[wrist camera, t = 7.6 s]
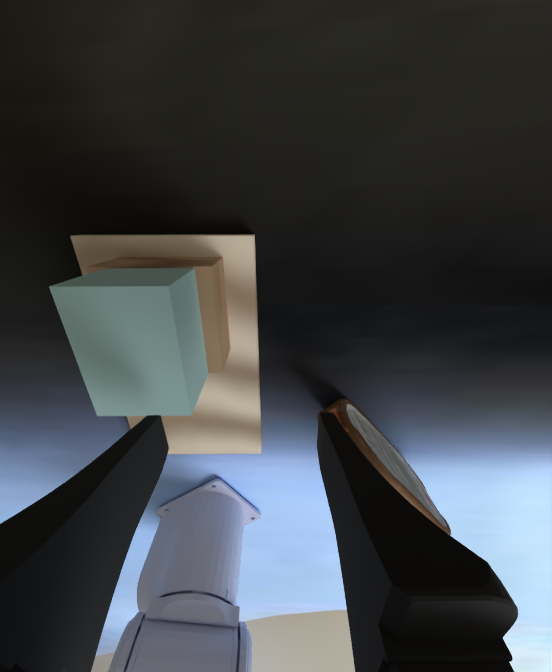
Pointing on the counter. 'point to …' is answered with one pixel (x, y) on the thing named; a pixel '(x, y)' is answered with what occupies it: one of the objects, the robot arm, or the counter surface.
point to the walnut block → (209, 297)
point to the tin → (386, 459)
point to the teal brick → (136, 339)
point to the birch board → (243, 360)
